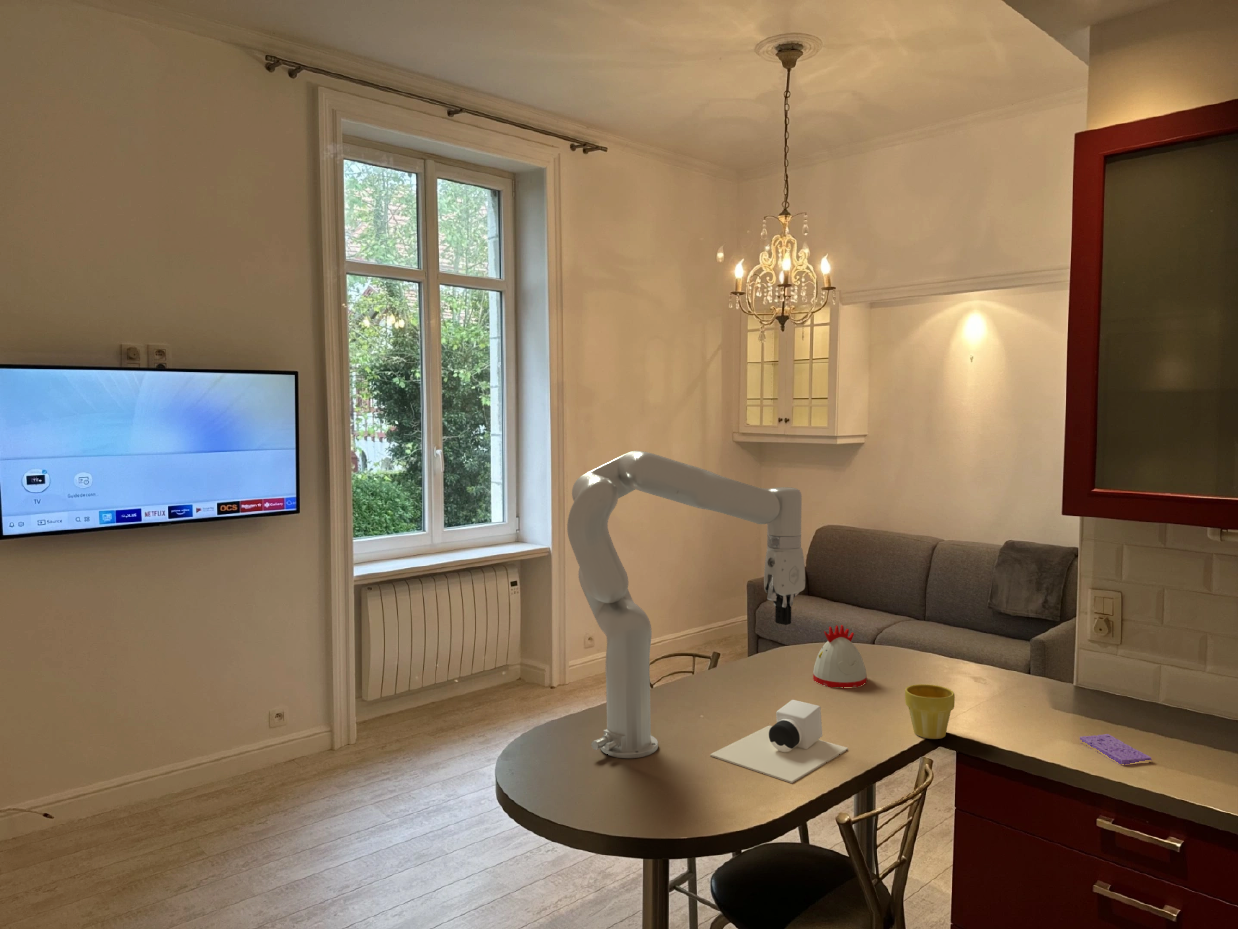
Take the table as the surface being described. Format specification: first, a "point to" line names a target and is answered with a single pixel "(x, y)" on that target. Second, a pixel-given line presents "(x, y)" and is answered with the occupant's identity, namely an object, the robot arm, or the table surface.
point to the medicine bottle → (796, 726)
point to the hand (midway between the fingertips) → (783, 623)
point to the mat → (777, 756)
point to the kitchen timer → (839, 661)
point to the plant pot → (929, 709)
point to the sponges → (1115, 749)
